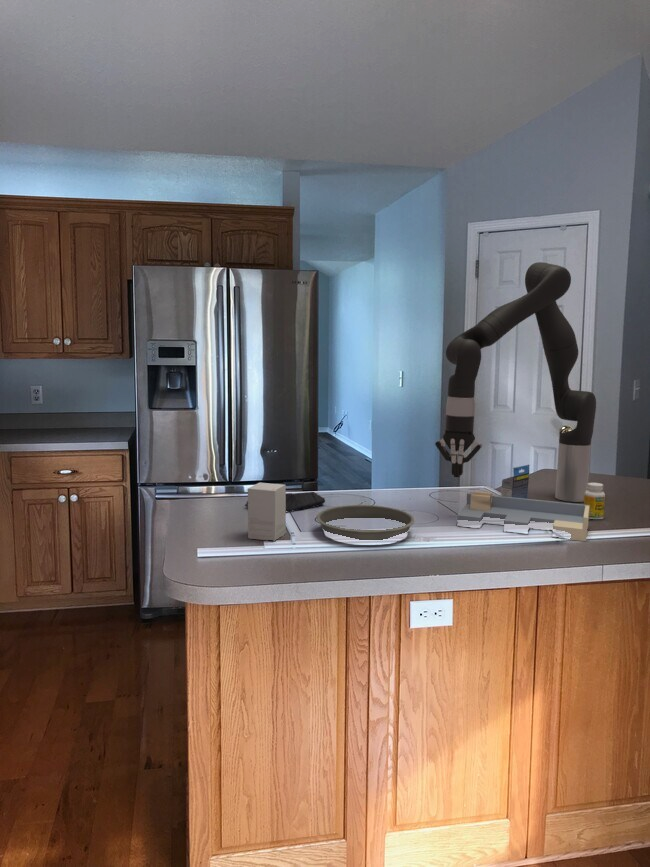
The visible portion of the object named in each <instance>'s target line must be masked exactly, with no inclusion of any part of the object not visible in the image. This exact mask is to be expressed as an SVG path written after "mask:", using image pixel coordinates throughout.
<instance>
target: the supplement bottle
mask: <svg viewBox="0 0 650 867" xmlns="http://www.w3.org/2000/svg"><path fill="white" fill-rule="evenodd" d="M587 488H588V490H587V491H586V492H585V495H584V501H583V505H590V506H589V518H590V519H602V520H603V519H604V517H605V516H604V515H605V503H606V494H605V492H604V491H603V490H604V484H603V483H601V482H600V483H599V482H588V487H587ZM590 519H589V520H590Z"/></svg>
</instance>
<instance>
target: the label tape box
mask: <svg viewBox="0 0 650 867" xmlns="http://www.w3.org/2000/svg"><path fill="white" fill-rule="evenodd" d="M521 470H522V472H520V471H521ZM512 472H513V473H512V474H513V476H509V477H507V478H503V479H502V480H501V489H500V490H501V491H500V496H503V497H513V498H523V499H528V490H529V482H530V481H529V479H530V478H529V477H530V464H526V465H525V464H524V465H521V466H516V467H512Z"/></svg>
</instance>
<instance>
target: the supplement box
mask: <svg viewBox="0 0 650 867" xmlns="http://www.w3.org/2000/svg"><path fill="white" fill-rule="evenodd" d="M286 491H287V490H286V484H280V483H267V482H258V483H256V484H253V485H252V486H250V487H247V501H248V507H247V538H248V539H251V540H252V539H253V540H260V541H268V540H276V539H278V538H279V537H281V536H282V537H283V536H285V535H286V534H285V533H286V532H287V529H286V528H287V527H286V525H287V523H286V516H287V515H286V513H287V512H286V494H287V493H286ZM284 534H285V535H284ZM282 537H281V538H282ZM279 539H280V538H279ZM279 539H278V540H279ZM276 541H277V540H276Z"/></svg>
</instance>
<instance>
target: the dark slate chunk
mask: <svg viewBox="0 0 650 867" xmlns="http://www.w3.org/2000/svg"><path fill="white" fill-rule="evenodd" d="M325 503H326V498H325V497H323V496H321V495H320V494H318V493H316V492H315V491H309V492H296V493H292V492H291V493H290V492H289V493H286V511H292V510H295V511H297V510H296V509H301V510H304V509H303V508H306V509H308V508H307V507H312V508H314V507H313V506H316V507H318V506H317V505H319V506H320V505H322V504H325ZM244 506H245V507H246V508H248V500H247V501H246V504H244Z"/></svg>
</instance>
